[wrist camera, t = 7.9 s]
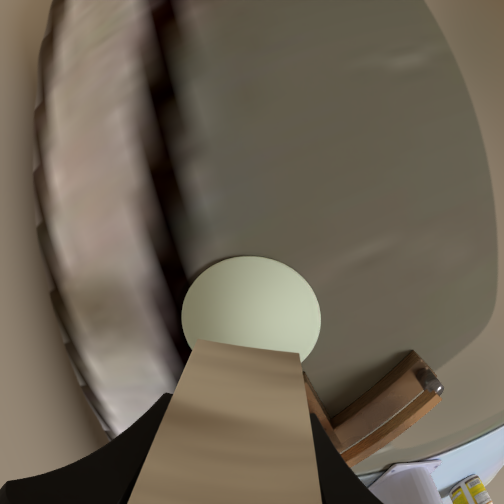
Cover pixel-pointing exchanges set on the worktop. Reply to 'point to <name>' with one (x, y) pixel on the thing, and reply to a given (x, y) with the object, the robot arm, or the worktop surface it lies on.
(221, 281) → the pad
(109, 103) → the worktop surface
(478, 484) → the supplement bottle
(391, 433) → the copper rod course
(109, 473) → the robot arm
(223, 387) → the birch handle block
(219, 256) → the worktop surface
